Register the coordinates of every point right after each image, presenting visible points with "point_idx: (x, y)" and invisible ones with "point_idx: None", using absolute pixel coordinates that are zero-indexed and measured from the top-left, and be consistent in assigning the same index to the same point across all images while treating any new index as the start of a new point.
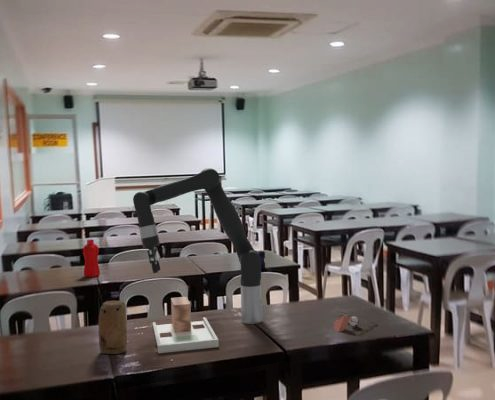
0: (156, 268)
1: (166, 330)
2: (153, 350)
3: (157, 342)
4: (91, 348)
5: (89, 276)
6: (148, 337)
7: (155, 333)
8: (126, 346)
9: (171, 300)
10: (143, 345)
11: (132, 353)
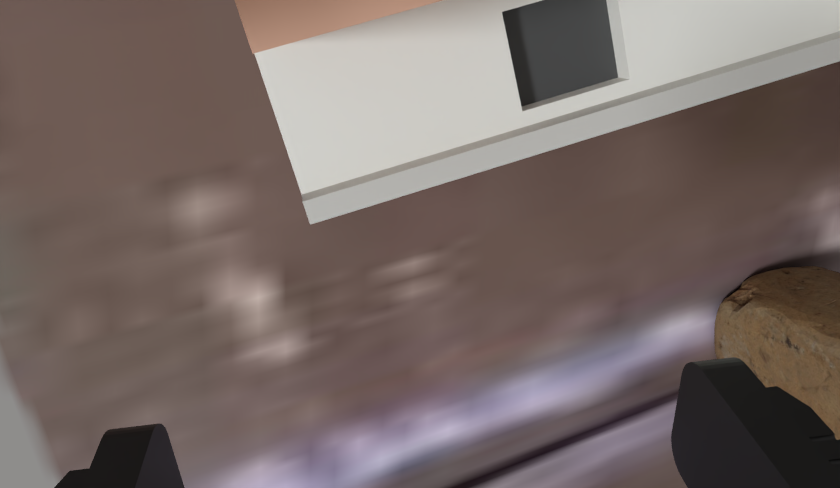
0: (794, 448)
1: (453, 62)
2: (789, 89)
3: (826, 62)
4: (680, 479)
5: None
6: (519, 191)
7: (622, 125)
8: (785, 273)
9: (321, 33)
10: (682, 183)
11: (810, 215)
